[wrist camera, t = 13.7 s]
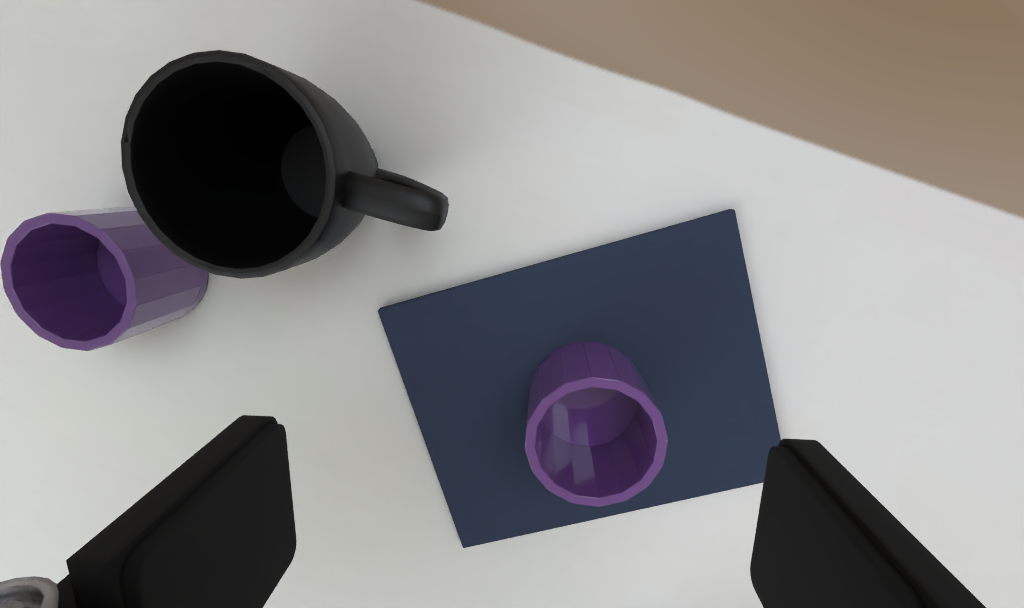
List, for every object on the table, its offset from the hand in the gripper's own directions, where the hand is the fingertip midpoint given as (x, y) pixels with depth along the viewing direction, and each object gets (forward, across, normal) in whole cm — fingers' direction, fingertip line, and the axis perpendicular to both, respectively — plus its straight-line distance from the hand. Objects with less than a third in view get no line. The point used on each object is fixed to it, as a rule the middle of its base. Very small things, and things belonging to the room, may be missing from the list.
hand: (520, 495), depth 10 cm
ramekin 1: (+20, +22, 0) cm, 30 cm away
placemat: (+20, -3, +6) cm, 21 cm away
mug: (+20, +10, -5) cm, 23 cm away
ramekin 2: (+19, -3, +6) cm, 21 cm away
